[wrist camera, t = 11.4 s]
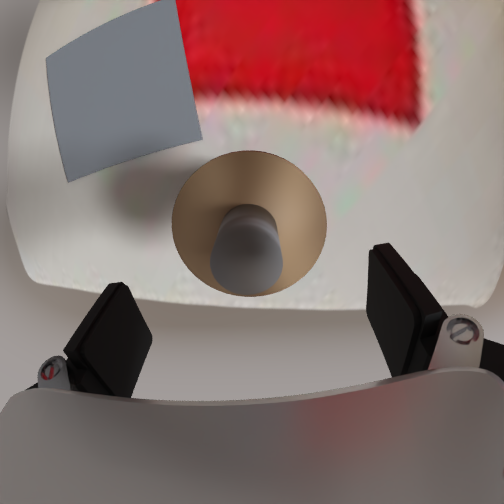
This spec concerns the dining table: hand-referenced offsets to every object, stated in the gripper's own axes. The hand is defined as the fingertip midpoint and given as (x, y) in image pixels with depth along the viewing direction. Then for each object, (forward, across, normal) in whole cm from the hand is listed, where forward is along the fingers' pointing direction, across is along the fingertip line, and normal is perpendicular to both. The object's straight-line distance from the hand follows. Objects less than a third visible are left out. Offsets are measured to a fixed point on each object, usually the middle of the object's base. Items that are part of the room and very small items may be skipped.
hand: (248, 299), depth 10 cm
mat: (+21, +14, -14) cm, 29 cm away
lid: (+9, 0, +1) cm, 9 cm away
